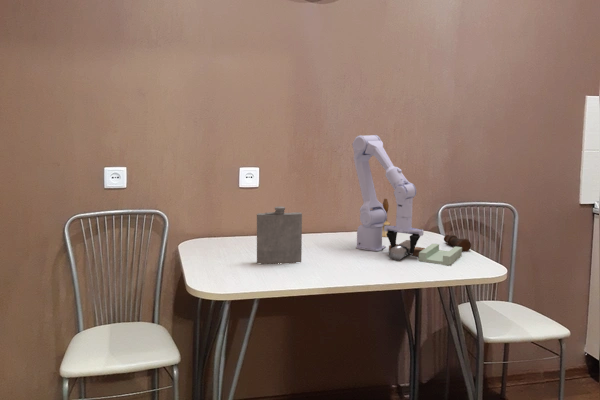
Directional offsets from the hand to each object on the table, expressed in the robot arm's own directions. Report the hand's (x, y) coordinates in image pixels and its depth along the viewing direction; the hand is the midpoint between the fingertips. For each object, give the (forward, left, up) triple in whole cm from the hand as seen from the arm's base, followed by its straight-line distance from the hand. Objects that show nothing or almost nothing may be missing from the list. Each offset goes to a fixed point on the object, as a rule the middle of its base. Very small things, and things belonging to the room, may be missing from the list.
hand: (402, 252), depth 212 cm
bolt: (+13, +25, -2) cm, 28 cm away
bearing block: (0, +5, -1) cm, 5 cm away
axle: (0, -1, +1) cm, 1 cm away
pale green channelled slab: (+13, +5, -1) cm, 14 cm away
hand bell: (-19, +30, -2) cm, 35 cm away
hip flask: (-34, -32, -2) cm, 47 cm away
